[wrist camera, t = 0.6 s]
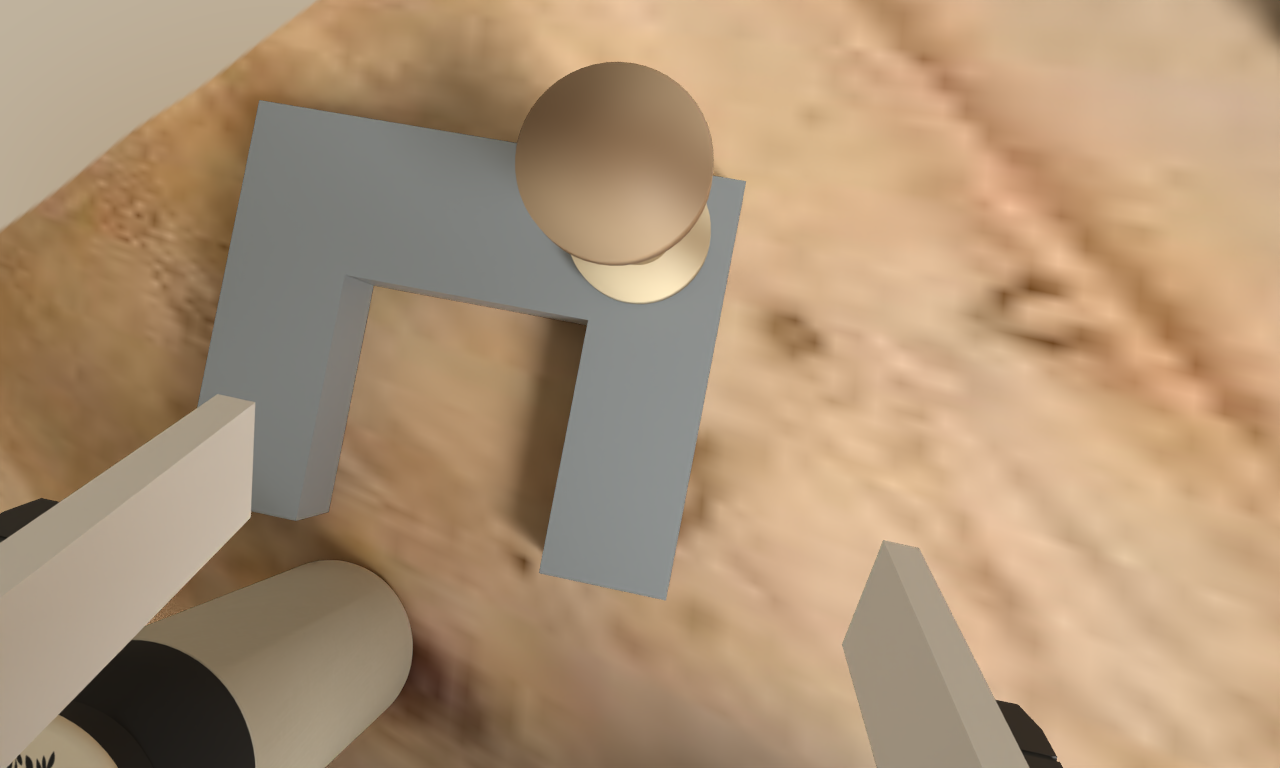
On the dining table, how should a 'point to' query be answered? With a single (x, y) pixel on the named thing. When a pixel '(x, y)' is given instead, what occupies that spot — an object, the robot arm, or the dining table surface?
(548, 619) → the dining table surface
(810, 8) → the dining table surface
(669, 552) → the notched board
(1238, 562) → the dining table surface
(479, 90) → the dining table surface
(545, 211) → the birch bobbin
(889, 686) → the robot arm
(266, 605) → the travel mug
